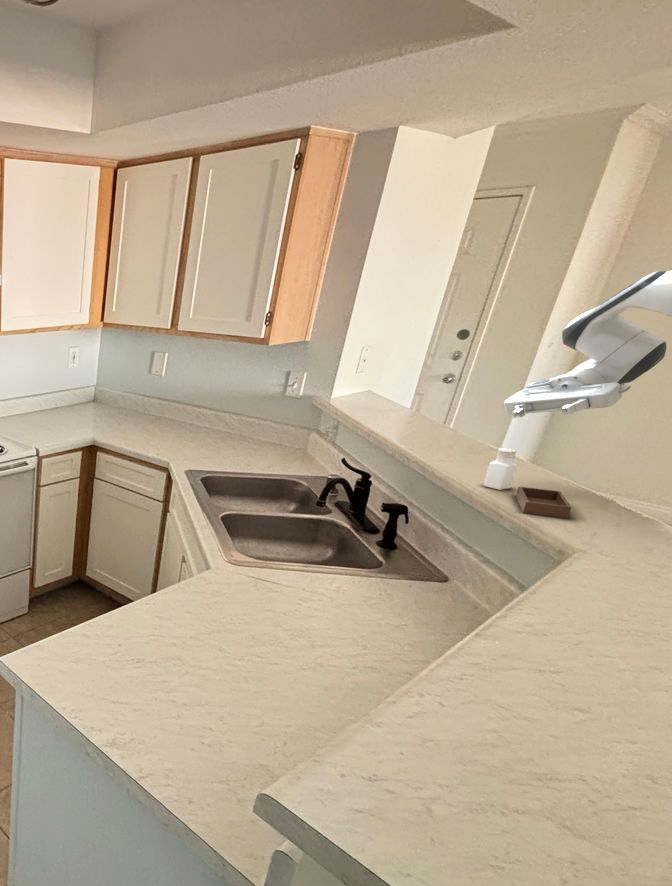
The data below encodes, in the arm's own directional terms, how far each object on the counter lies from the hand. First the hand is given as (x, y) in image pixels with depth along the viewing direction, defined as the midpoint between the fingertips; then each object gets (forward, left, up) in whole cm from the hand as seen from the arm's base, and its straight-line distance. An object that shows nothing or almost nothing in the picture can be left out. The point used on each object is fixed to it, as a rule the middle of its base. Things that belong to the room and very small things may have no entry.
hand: (540, 413), depth 140 cm
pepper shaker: (+6, +5, -18) cm, 20 cm away
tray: (+2, +19, -18) cm, 26 cm away
